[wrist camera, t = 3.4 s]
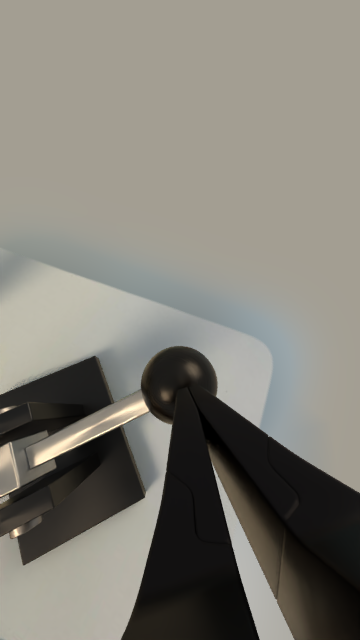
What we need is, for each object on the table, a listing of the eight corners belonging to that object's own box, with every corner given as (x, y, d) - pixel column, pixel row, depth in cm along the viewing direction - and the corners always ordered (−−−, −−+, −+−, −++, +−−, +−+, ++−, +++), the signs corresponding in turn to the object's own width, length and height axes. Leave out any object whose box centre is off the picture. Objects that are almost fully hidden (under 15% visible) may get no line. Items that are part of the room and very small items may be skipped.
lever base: (98, 358, 23) (55, 324, 14) (146, 492, 19) (131, 569, 10) (-2, 399, 21) (-130, 393, 12) (31, 556, 17) (-113, 720, 8)
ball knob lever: (202, 338, 13) (188, 327, 10) (233, 399, 12) (229, 411, 9) (16, 433, 15) (-50, 453, 12) (30, 495, 14) (-39, 535, 11)
